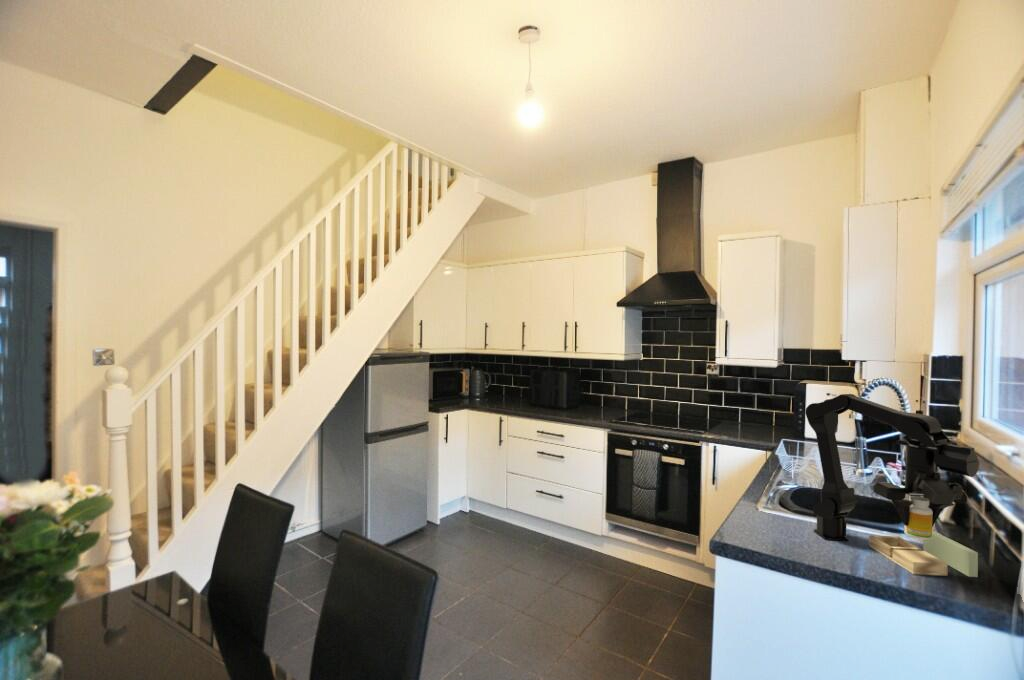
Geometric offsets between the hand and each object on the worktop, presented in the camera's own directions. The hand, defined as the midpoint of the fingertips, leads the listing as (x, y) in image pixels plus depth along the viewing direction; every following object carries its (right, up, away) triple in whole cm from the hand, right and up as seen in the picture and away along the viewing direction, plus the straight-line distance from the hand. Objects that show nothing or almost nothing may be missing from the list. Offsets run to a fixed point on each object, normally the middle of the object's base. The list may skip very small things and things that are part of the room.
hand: (917, 525), depth 119 cm
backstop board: (+11, -11, +3) cm, 16 cm away
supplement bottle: (0, -3, 0) cm, 3 cm away
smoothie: (+17, -11, +18) cm, 27 cm away
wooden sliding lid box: (+1, -11, +5) cm, 12 cm away
